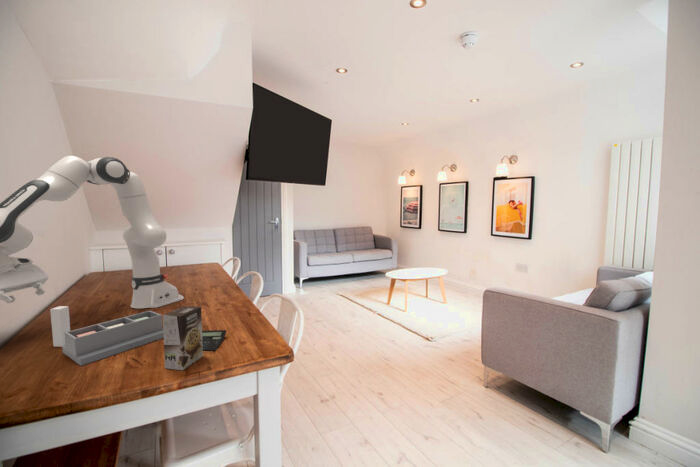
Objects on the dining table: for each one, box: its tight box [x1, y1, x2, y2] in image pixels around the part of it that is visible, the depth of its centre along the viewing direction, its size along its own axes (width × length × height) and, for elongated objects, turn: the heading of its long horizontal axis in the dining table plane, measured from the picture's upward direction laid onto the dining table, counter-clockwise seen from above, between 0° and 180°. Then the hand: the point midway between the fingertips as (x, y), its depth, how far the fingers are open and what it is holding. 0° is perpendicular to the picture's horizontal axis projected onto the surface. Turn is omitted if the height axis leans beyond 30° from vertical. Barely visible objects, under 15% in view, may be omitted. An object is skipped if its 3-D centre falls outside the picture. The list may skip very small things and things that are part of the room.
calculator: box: [202, 329, 227, 352], centre depth 107 cm, size 9×12×3 cm
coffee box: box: [162, 305, 204, 371], centre depth 94 cm, size 9×6×16 cm
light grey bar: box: [49, 305, 71, 348], centre depth 107 cm, size 3×3×13 cm
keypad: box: [61, 310, 164, 367], centre depth 107 cm, size 25×16×8 cm, turn 147°
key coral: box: [76, 331, 95, 338], centre depth 100 cm, size 5×5×2 cm
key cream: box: [106, 323, 125, 329], centre depth 107 cm, size 5×5×2 cm
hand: (27, 297), depth 106 cm, fingers open, 8 cm apart
